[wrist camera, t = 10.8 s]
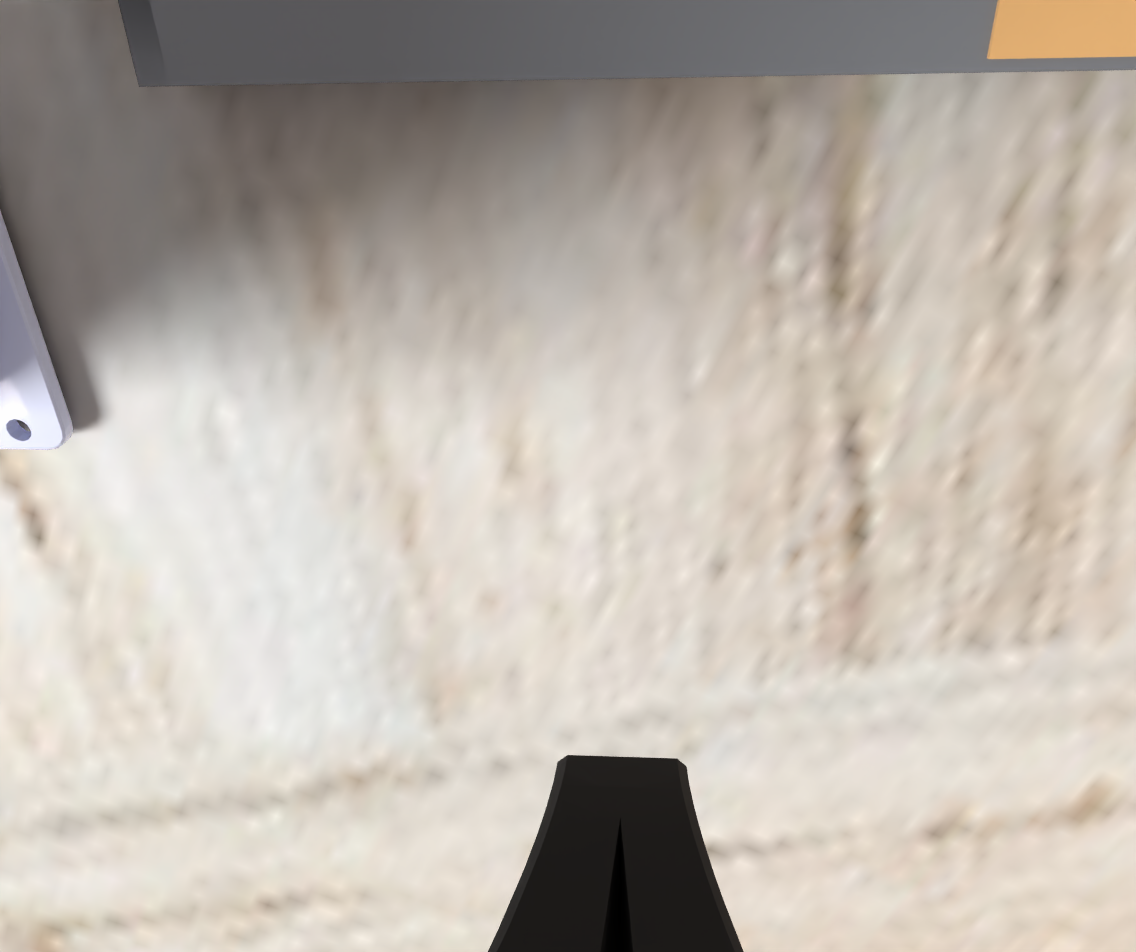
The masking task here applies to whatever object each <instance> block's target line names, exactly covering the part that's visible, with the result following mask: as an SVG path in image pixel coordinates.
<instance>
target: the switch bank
mask: <svg viewBox="0 0 1136 952" xmlns="http://www.w3.org/2000/svg"><path fill="white" fill-rule="evenodd" d="M118 2H119V6H120V10H121V14H122V19H123V23H124V27H125V31H126V35H127V39H128V43H129V47H130V51H131V55H132V59H133V63H134V68H135V72H136V76H137V80H138V84H139V87H145V86H205V85H264V84H324V83H384V82H444V81H503V80H563V79H623V78H682V77H742V76H802V75H862V74H921V73H981V72H1041V71H1101V70H1136V0H118Z"/></svg>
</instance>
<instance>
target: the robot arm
mask: <svg viewBox="0 0 1136 952" xmlns="http://www.w3.org/2000/svg"><path fill="white" fill-rule="evenodd" d="M17 420H21V421H23V422H24V423H25V424H27V425H28V427H29V428H30V430H31V432H30V431H26V430H25V429H23V428H22V427H21V426H20V425H19V423H18V422H17ZM72 432H73V426H72V421H71V418H70V415H69V412H68V409H67V406H66V403H65V400H64V397H63V394H62V391H61V388H60V385H59V382H58V379H57V376H56V373H55V371H54V368H53V365H52V362H51V359H50V356H49V353H48V350H47V347H46V344H45V341H44V338H43V335H42V332H41V329H40V326H39V323H38V320H37V317H36V314H35V311H34V308H33V305H32V302H31V299H30V297H29V294H28V291H27V288H26V285H25V282H24V279H23V276H22V273H21V270H20V267H19V264H18V261H17V258H16V255H15V252H14V249H13V246H12V243H11V240H10V237H9V234H8V231H7V228H6V226H5V223H4V220H3V217H2V214H1V211H0V449H41V450H50V449H56V448H59V447H60V446H61V445H63V444H64V443H65V442H66V441H67V440H68V439H69V438H70V437H71V435H72ZM488 952H743V949H742V947H741V944H740V942H739V939H738V936H737V934H736V931H735V929H734V926H733V924H732V921H731V919H730V916H729V913H728V911H727V908H726V906H725V903H724V901H723V898H722V895H721V892H720V889H719V887H718V884H717V881H716V878H715V875H714V872H713V869H712V866H711V863H710V860H709V857H708V854H707V851H706V847H705V844H704V841H703V838H702V834H701V831H700V827H699V824H698V820H697V816H696V812H695V809H694V805H693V800H692V795H691V791H690V786H689V781H688V774H687V767H686V766H685V765H684V764H683V763H682V762H680V761H679V760H678V759H671V758H640V757H609V756H577V755H567V756H566V757H564V758H563V759H561V760H560V761H559V762H558V763H557V768H556V773H555V778H554V782H553V786H552V790H551V793H550V797H549V800H548V804H547V807H546V810H545V813H544V816H543V819H542V822H541V825H540V828H539V831H538V834H537V837H536V839H535V842H534V845H533V847H532V850H531V853H530V855H529V858H528V861H527V863H526V866H525V868H524V871H523V873H522V876H521V878H520V880H519V883H518V885H517V887H516V890H515V892H514V894H513V897H512V899H511V901H510V904H509V906H508V908H507V911H506V913H505V915H504V918H503V920H502V922H501V925H500V927H499V929H498V931H497V933H496V936H495V938H494V940H493V942H492V944H491V946H490V948H489V950H488Z"/></svg>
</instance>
